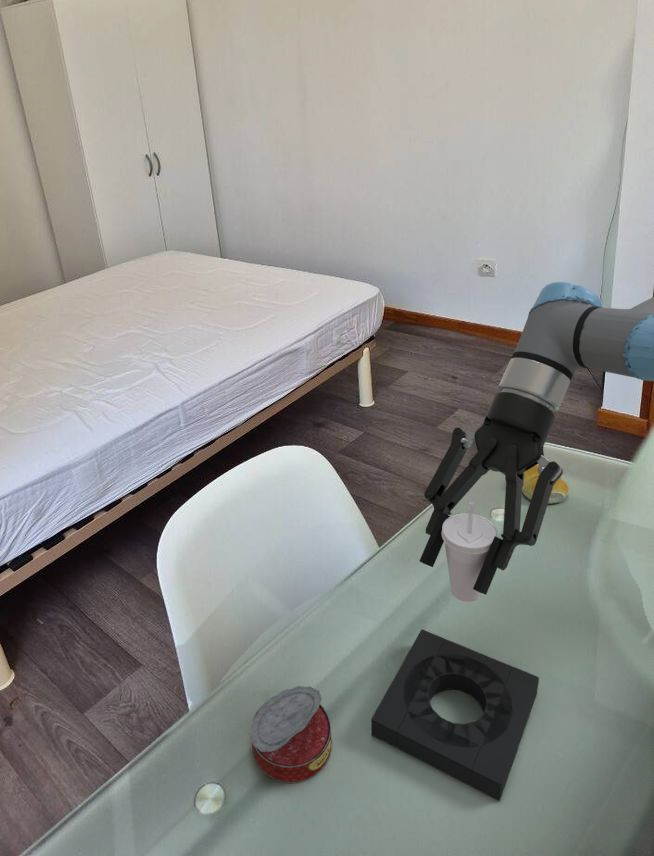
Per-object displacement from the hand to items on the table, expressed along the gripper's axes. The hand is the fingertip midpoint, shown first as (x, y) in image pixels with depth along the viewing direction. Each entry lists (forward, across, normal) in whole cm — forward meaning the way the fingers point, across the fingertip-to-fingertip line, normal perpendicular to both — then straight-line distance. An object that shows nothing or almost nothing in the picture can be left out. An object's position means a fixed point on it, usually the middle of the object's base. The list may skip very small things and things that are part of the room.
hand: (452, 577), depth 81 cm
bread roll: (-20, +9, -49) cm, 53 cm away
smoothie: (+1, 0, -6) cm, 6 cm away
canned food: (+27, +11, -2) cm, 30 cm away
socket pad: (+16, -2, -13) cm, 21 cm away
